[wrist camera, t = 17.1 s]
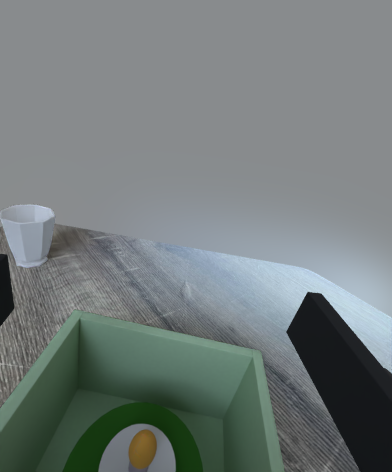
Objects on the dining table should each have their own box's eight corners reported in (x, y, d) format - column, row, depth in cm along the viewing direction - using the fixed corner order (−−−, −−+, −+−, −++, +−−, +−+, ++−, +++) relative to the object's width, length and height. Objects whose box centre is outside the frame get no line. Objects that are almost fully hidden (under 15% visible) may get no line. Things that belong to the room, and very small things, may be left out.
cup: (-5, 272, 34) (-14, 220, 31) (19, 238, 43) (15, 194, 39) (51, 273, 37) (49, 225, 33) (64, 241, 45) (63, 200, 42)
